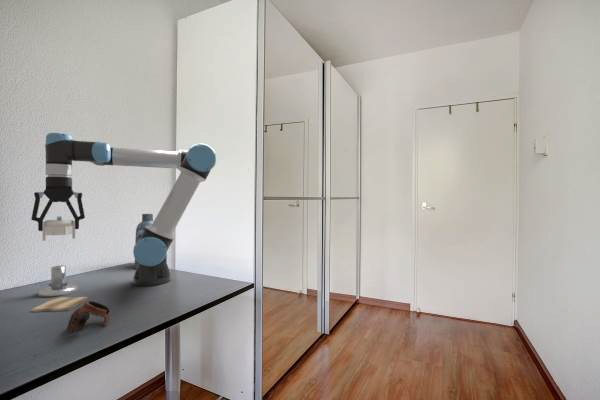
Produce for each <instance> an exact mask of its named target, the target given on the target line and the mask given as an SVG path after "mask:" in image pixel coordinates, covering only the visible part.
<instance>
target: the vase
mask: <svg viewBox="0 0 600 400" xmlns="http://www.w3.org/2000/svg"><path fill="white" fill-rule="evenodd" d="M153 222H154V214H153V213H142V214H141V222H139V223H138V224H137V226H136V229H135V243H134V245H135V244H136V243H137V242H138V238H137V235H138V232H139V231H140V230H145V228H146V227H147V226H149V225H152V224H153ZM137 266H138V262H137V261H136V259H135V258H134V268H135V270H136V269H137Z"/></svg>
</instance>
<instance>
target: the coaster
mask: <svg viewBox="0 0 600 400" xmlns="http://www.w3.org/2000/svg"><path fill="white" fill-rule="evenodd" d="M87 300H88V296H71V297H70V296H69V297H52V299H49V300H47V301H46V302H44V303H41V304H40V305H38V306H35V307H33V308H31V313H32V312H34V313H35V312H58V311H59V312H60V311H62V312H64V311H70V310H72V309H73V308H75V307H77V306H78V305H80V304H82V303H83V302H84V301H85V302H86V301H87Z"/></svg>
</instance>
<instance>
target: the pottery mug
mask: <svg viewBox="0 0 600 400" xmlns="http://www.w3.org/2000/svg"><path fill="white" fill-rule="evenodd" d="M110 312H111V308H109V307H108V306H106V305H104V304H102V303H98V302H97V301H96V302H95V301H92V300H85V302H84V304H82V305H80V306H78V307H77V308H76V309H75V310H74V311H73V312H72V314H71V316H70V318H69V321H68V324H67V327H66V330H67V332H68V333H70V334H73V333H74V331H76V332H81V331H83V330H84V328H85V325H86V324H87V322H88V321H89V319H90V315H93V316H97V317H101V318H104V319H103V323H102V326H103V327H104V326H106V325H107V323H108V322H109V313H110ZM90 313H91V314H90ZM72 332H73V333H72Z"/></svg>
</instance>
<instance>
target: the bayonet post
mask: <svg viewBox="0 0 600 400" xmlns="http://www.w3.org/2000/svg"><path fill="white" fill-rule="evenodd" d="M66 267H67V266H66V265H63V264H61V265H55V266H51V268H50V269H51V271H50V278H51V279H50V283H48V286H45V287H43V288H41V289H39V290H38V297H41V298H57V297H61V296H67V295H70V294H73V293H75V292H78V285H79V284H76V283H69V282H66V277H67V276H66V271H67V270H66Z"/></svg>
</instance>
